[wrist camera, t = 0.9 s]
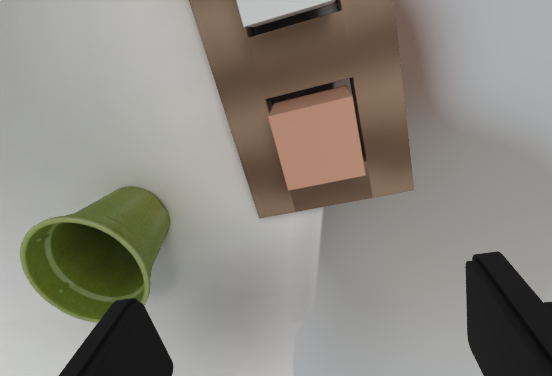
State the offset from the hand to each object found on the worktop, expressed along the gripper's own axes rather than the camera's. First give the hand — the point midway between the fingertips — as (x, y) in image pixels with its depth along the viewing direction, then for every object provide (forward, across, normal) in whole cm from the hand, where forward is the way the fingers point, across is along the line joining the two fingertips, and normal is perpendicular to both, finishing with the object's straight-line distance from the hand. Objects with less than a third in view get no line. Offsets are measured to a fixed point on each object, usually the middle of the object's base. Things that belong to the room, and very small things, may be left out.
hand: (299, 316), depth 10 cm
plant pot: (+19, +17, +4) cm, 26 cm away
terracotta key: (+17, -1, -1) cm, 17 cm away
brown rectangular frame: (+19, -1, -6) cm, 20 cm away
